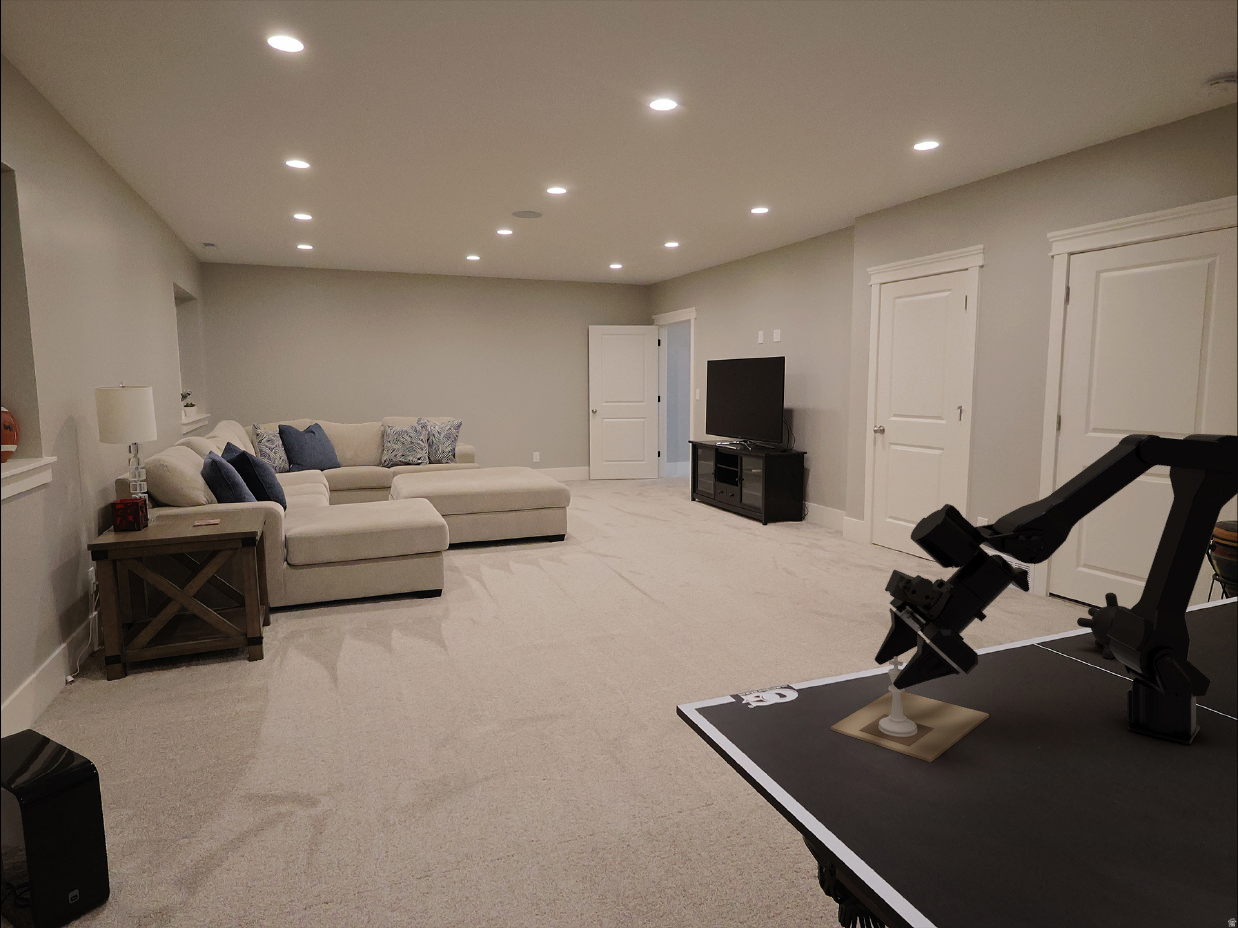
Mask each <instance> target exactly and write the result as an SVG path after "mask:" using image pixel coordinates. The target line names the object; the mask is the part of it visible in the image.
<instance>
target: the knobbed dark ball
mask: <svg viewBox="0 0 1238 928" xmlns="http://www.w3.org/2000/svg"><path fill="white" fill-rule="evenodd" d="M1104 597H1105V602H1106V603H1105V604H1106V606H1103V607H1101V608H1100V609H1098V608H1096V607H1092V606H1091V607H1089V608H1088V610H1087V615H1089V616H1090V617H1091V618H1087V617H1078V619H1077V620H1076V623H1077V626H1079V627H1082V628H1087V629H1090V631H1091V632H1092V635H1093V637H1094V645H1095V646H1096V647H1098V648H1101V649H1102V648H1103V650H1102V656H1103V657H1104V658H1105V659H1108V660H1112V659H1113V658H1114V657H1115V656H1114V654H1113V653H1112V651H1111V650H1110V645H1109V644H1110V638H1111V637H1109V636H1107V635H1106V634H1107V632H1108V631H1109V630H1110V629H1111V627H1112V625H1113V621H1114V614H1115V611H1116V610H1117V608H1121V609H1123V610H1125V611H1127V612H1128V611H1129V610H1130V609H1131V608H1128V607H1126V606H1123V605H1119V602H1118V597H1117V594H1116V593H1114V592H1107V593H1105V595H1104Z"/></svg>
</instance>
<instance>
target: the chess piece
mask: <svg viewBox="0 0 1238 928" xmlns="http://www.w3.org/2000/svg"><path fill="white" fill-rule="evenodd" d="M888 665H893V668H890V669H888V671H887V673H888V675H889V678H890V682H891V683H892V684H891V685H889V686H888V687H887V689H888V691H889V692H890V691H892V692H893V699H892V709H891V714H890V715H889V716H888V717H885V718H883V719H881V720H880V721H879V730H880V731H882V732H883V733H885V734H887V735H891V736H896V737H909V736H913V735H915V734H916V733H917V726H916V724H915V723H914V722H913V721H911V720H909V719H907V718H906V717H905V716H904V713H903V707H902V701H901V693H900V692H906V688H904V689H901V690H899V689H897V688H896V687H895V686H894V685H893V682H894V680H895V679H896V678H897V676H898V675H899V673H900V672H901V671H902V669H901V668H899V667H904V662H903V661H899V656H898V657H896V656H894V659H892V660H889V661H888Z"/></svg>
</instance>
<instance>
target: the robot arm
mask: <svg viewBox="0 0 1238 928" xmlns="http://www.w3.org/2000/svg"><path fill="white" fill-rule="evenodd" d="M1156 466H1164V467H1170V468H1169V472H1168V473H1169V475H1168V476H1169V479H1170V480H1169V481H1170V484H1171V488H1172V493H1173V500H1172V504H1171V506H1170V510H1169V513H1168V515H1167V519H1166V521H1165V523H1164V524H1165V525H1164V527H1163V531H1162V534H1161V537H1160V539H1159V543H1158V546H1157V549H1156V552H1155V555H1154V556H1153V561H1152V564H1151V566H1150V570H1149V572H1148V576H1147V578H1146V582H1145V584H1144V588H1143V589H1142V590H1143V591H1142V593H1141V597H1140V598H1139V600H1138V602H1136V604H1134V605H1133V606H1132V607H1131V608H1129V609H1130V610H1129V611H1128V612H1127V611H1125V610H1123V609H1121V608H1117V610H1116V611H1115V614H1114V621H1113V625H1112V627H1111V629H1110V630H1109V631H1108V632H1107V634H1106V635H1107V636H1109V637H1111V638H1110V644H1109V645H1110V650H1111V651H1112V653H1113V654H1114V657H1115V658H1116V660H1117V661H1119V662H1120V663H1121V664H1122V667H1123V669H1124V672H1125V673H1126V674H1128V675H1131V676H1133V677H1135V678H1134V679H1133V680H1132V681H1131V687H1130V688H1129V689H1128V690H1127V691H1126V704H1127V705H1126V709H1127V710H1126V712H1127V714H1126V719H1127V721H1128V722H1130V723H1129V724H1128V729H1127V730H1129V731H1131V732H1135V733H1140V734H1144V735H1147V736H1152V737H1156V738H1159V739H1164V740H1167V741H1168V740H1169V741H1172V742H1177V743H1181V744H1186V745H1190V744H1192V742H1193V741H1194V739H1195V738H1196V736H1197V734H1198V732H1199V731H1200V726H1201V725H1200V724H1198V723H1197V697H1204V696H1206V694H1207V692H1208V689H1209V686H1210V685H1211V680H1210V679H1209V677H1207V676H1206V675H1205V674H1204V673H1203V672H1201V671H1200V670H1199V669H1198V668H1197V667H1195V666H1194V665H1193V664H1192V662H1190V661H1189V654H1190V647H1191V637H1190V631H1189V628H1188V623H1187V619H1186V614H1187V609H1188V608H1189V604H1190V601H1191V599H1192V595H1193V592H1194V590H1195V587H1196V584H1197V581H1198V578H1199V575H1200V573H1201V570H1202V566H1203V563H1204V561H1205V558H1206V555H1207V552H1208V549H1209V545H1210V542H1211V540H1212V537H1213V534H1214V531H1215V528H1216V526H1217V522H1218V519H1219V516H1220V513H1221V510H1222V509H1223V507H1225V505H1226V504H1227V503H1229V502H1230V501H1231V500H1232V499H1233V498H1234V497H1236V495H1238V435H1235V434H1215V433H1214V434H1211V433H1195V434H1193V433H1192V434H1188V435H1187V436H1185V437H1183V438H1173V437H1162V436H1160V435H1158V434H1157V435H1156V434H1148V433H1146V434H1145V433H1144V434H1143V433H1133V434H1128V435H1127V436H1124V437H1123V438H1122V439H1121V440H1120V441H1119V442H1118V443H1117V445H1115V446H1114V447H1113V448H1111V449H1110V450H1108V452H1106V453H1104V455H1102V456H1101V457H1099V458H1098V459H1096V460H1095V461H1094V462H1092V463H1091V464H1090V465H1088V466H1087V467H1085V468H1084V469H1083V470H1082V471H1080V472H1079V473H1078V474H1076V475H1075V476H1074V477H1072V478H1071V479H1070V480H1068V481H1067V482H1065V483H1064V484H1063V485H1061V486H1060V487H1059V488H1057V489H1056V490H1055V491H1053V492H1052V493H1050V494H1049V495H1047V496H1046V497H1044V498H1042V499H1039V500H1037V501H1034V502H1031V503H1027V504H1025V505H1022V506H1019V508H1015V509H1014V510H1012V511H1010V512H1009V513H1006V514H1005V515H1002V516H1000V517H998V518H997V520H996V521H995V522H994V523H990V524H983V525H978V526H974V525H973V524H972V523H971V522H970V521H969V520H968V519H967V518H965V517H964V516H963V515H962V513H961V512H960V511H959V509H957V507H955V506H954V505H952V504H950V503H945V504H944V505H943V506H941V508H940V509H937V510H935V511H932V512H931V513H930V514H929V515H928V516H926V517H923V518H922V519H920V520H919V521H918V522H917V524H916V525H915V526H914V528H913V530H912V531H911V534H910V539H911V541H912V542H914V543H915V544H916V545H917V546H918V547H919V548H920V549H921V550H923V552H925V553H926V554H927V555H928V556H929V557H931V559H932V560H934V561H935V562H936V563H937V564H938V565H939V566H940V567H942V568H944V569H949V568H952V567H953V568H955V569H956V571H955V572H953V574H952V575H951V576H950V577H948V578H947V579H946V580H945V579H943V578H940V579H939V578H936V579H935V581H932V580H931V579H929V578H926V577H923V576H921V575H919V574H917V575H915V576H912V575H909V574H907V573H905V572H902V571H901V570H897V569H893V570H892V573H891V575H890V577H889V579H888V581H887V584H886V586H885V588H884V591H885V592H886V593H887V592H888V593H889V595H890V596H891V597H892V598H893V599H891V600H890V601H889V604H890V605H891V606H892V607H893V608H894V609H895V610H894V609H893V608H891V607H889V610H888V611H889V613H890V620H891V621H890V622H891V626H890V627H889V630H888V632H887V634H886V636H885V638H884V640H883V641H882V643H881V645H880V647H879V649H878V652H877V653H876V656H875V657H874V661H875V662H876V663H877V664H878V665H880V666H881V665H884V664H886V663H889V660H892V661H893V660H894V656H896V657H898V658H899V657H900V656H901V655H903V654H905V653H907V652H909V651H911V650H913V649H914V648H916V651H915V653H914V654H913V656H911V658H910V659H909V660H908V662H907V663H906V664H905V666H903V668H902V669H901V670H902V671H901V672H900V673H899V675H898V676H897V678H896V679H895V680H894V682H893V685H894V686H895V687H896V688H897V689H899V690H901V689H904V688H905V689H907V688H910V687H913V686H916V685H920V684H922V683H923V684H924V683H925V682H928V681H932V680H936V679H939V678H944V677H947V676H951V675H956V676H958V675H960V673H961V671H962V672H963V673H964V674H966V675H969V674H970V673H971V671H972V670H973V669H975V667H977V665H979V653H978V652H976V651H975V650H974V649H973V648H972V647H971V646H970V645H969V644H968V643H967V642H966V641H964V640H965V638H964V637H963V636H962V635H961V634H962V633H963V632H964V631H965V630H966V629H967V628H968V627H969V626H970V625H971V624H972V623H973V622H974V621H975V620H976V619H977V620H978V621H980V623H981V622H983V621H984V620H985V619H986V618H987V614H985V613H984V611H985V610H986V609H987V608H988V607H989V606H990V605H991V604H992V603H993V602H994V601H995V600H997V598H998V597H999V596H1000V595H1001V594H1003V592H1004V591H1005V590H1007V588H1008V587H1010V585H1011V586H1013V587H1015V588H1017V589H1019V590H1021V591H1023V592H1025V593H1028V592H1030V583H1029V579H1028V578H1029V577H1028V576H1029V571H1028V569H1027V570H1026V569H1024V568H1022V567H1014V566H1013V565H1012V564H1011V563H1010V562H1009V561H1008V560H1006V559H1005V558H1004V557H1003V556H1002V555H1000V554H997V553H996V554H995V553H994V554H991V555H990V553H988V552H986V551H985V550H984V549H983V548H982V547H981V545H983V546H985V547H987V548H990V549H991V550H993V551H997V552H998V553H1001V554H1003V555H1005V556H1007V557H1009V558H1012V559H1014V560H1017V561H1018V562H1020V563H1023V564H1026V565H1027V564H1029V565H1038V564H1041V563H1043V562H1045V561H1047V560H1049V558H1051V556H1053V554H1054V553H1055V552H1056V551H1057V550H1058V549H1059V548H1060V547H1061V546H1063V544H1064V543H1066V541H1067V539H1068V537H1069V535H1070V534H1071V532H1072V529H1073V527H1074V526H1076V524H1078V522H1080V520H1082V519H1084V518H1085V517H1086V516H1088V514H1090V513H1091V512H1093V511H1095V510H1096V509H1097V508H1099V506H1101V505H1103V504H1104V503H1105V502H1107V501H1108V500H1109V499H1111V498H1112V497H1113V496H1115V495H1116V494H1117V493H1119V492H1120V491H1122V490H1123V489H1125V488H1126V487H1127V486H1128V485H1130V484H1131V483H1132V482H1134V481H1136V480H1137V479H1138V478H1139V477H1141V476H1142V475H1143V474H1145V473H1146V472H1147V471H1149V470H1151V469H1152V468H1154V467H1156ZM919 632H921V633H922V635H923V636H924V637H925V638H926V639H927V640H928V641H929V642H927V640H926V639H925V638H924V637H923V636H922V635H921V634H920V633H919ZM957 668H959V669H960V670H961V671H960V670H958V669H957Z"/></svg>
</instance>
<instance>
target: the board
mask: <svg viewBox="0 0 1238 928" xmlns="http://www.w3.org/2000/svg"><path fill="white" fill-rule="evenodd" d="M900 693H901V701H902V707H903V713H904V716H905V717H906V718H907V719H909V720H911V721H913V722H914V723H915V724H916V726H917V733H916V734H915V735H913V736H909V737H896V736H891V735H887V734H885V733H883V732H882V731H880V730H879V721H880V720H881V719H883V718H885V717H888V716H889V715H890V714H891V709H892V699H893V692H892V691H890V690H889V692H887V693H885V694H883V695H881V696H880V697H879V698H877V699H875V700H874V701H872V702H870V703H868V704H866V705H865V706H864V707H862V708H860V709H859V710H857V711H854V713H852V714H850V715H849V716H847V717H845V718H843V719H841V720H840V721H838V722H836V723H835V724H833V725H831V726H830V731H833V732H837V733H839V734H842V735H845V736H849V737H852V738H855V739H858V740H861V741H863V742H867V743H870V744H874V745H877V746H880V747H882V748H885V749H889V750H892V751H894V752H897V753H900V754H904V755H907V756H911V757H913V758H915V759H919V760H921V761H925V762H929V763H932V762H933V761H935V760H936V759H937V758H938V757H940V756H941V755H942V754H943V753H945V752H946V751H947V750H948V749H950V748H951V747H952V746H953V745H955V744H957V742H958V741H960V740H962V738H964V737H965V736H966V735H968V734H969V733H971V732H972V731H973V730H974V729H976V727H978V726H980V724H981V723H983V722H984V721H985V720H986V719H988V718H990V714H989V713H987V712H983V711H980V710H975V709H971V708H968V707H963V706H960V705H956V704H953V703H949V702H945V701H940V700H937V699H932V698H928V697H925V696H921V695H919V694H918V695H917V694H913V693H909V692H906V691H904V692H900Z"/></svg>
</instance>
